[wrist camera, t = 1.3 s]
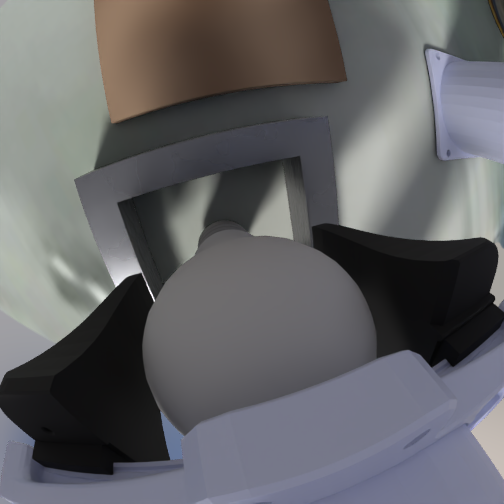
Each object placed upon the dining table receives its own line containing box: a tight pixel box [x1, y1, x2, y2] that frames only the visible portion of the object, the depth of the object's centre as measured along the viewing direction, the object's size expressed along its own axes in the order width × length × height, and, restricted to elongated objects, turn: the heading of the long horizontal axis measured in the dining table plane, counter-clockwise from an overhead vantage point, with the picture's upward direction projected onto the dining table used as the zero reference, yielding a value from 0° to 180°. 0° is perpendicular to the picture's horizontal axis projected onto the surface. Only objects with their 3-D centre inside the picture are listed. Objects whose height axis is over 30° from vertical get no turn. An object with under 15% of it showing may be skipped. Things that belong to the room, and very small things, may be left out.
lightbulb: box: [142, 220, 377, 436], centre depth 9 cm, size 6×6×11 cm
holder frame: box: [74, 116, 339, 302], centre depth 13 cm, size 10×10×2 cm
